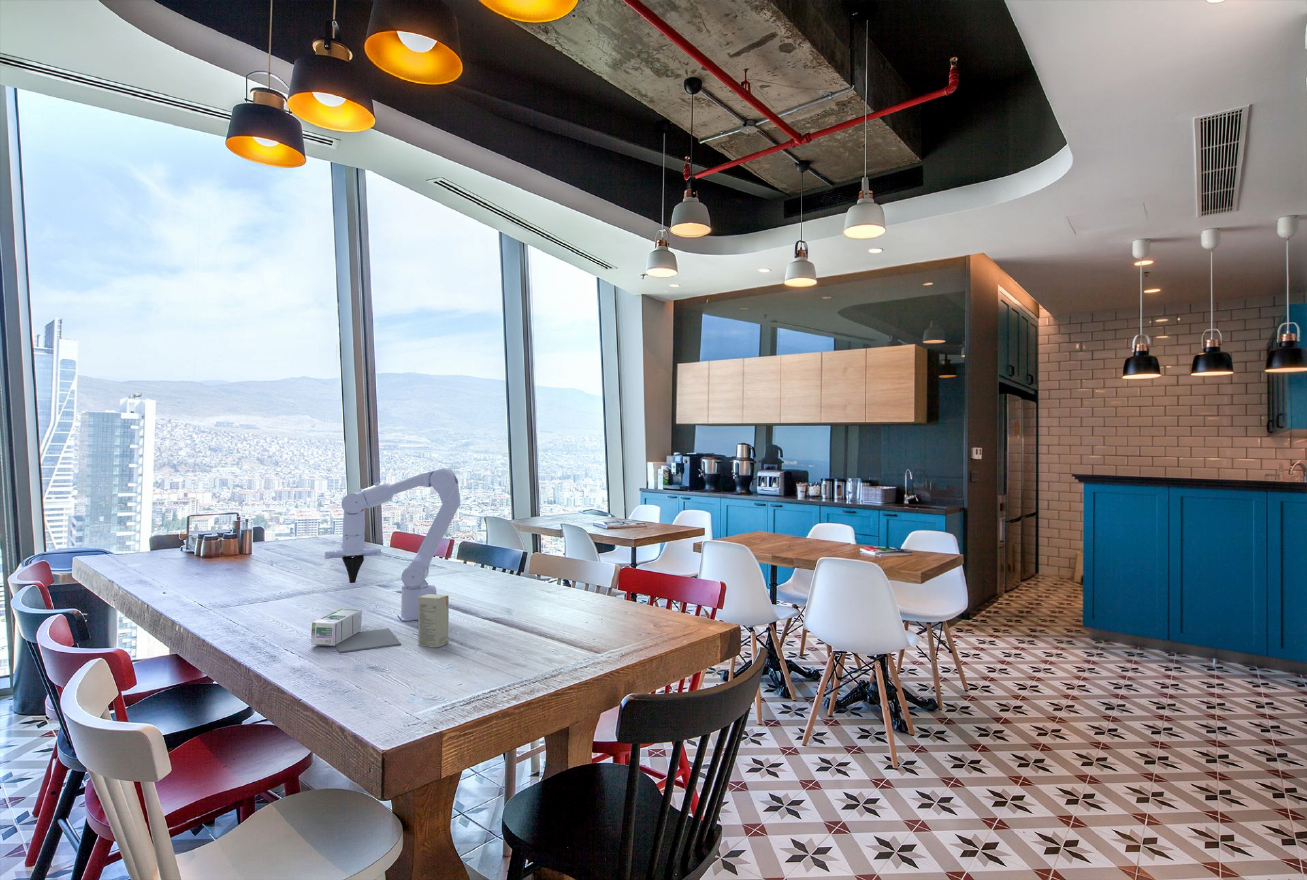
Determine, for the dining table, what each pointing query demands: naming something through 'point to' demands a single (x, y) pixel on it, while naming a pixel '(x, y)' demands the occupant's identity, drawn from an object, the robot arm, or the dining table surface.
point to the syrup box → (336, 627)
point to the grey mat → (368, 640)
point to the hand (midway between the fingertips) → (352, 582)
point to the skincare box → (433, 620)
